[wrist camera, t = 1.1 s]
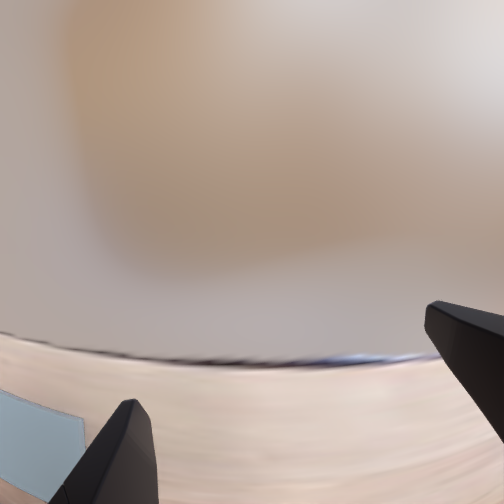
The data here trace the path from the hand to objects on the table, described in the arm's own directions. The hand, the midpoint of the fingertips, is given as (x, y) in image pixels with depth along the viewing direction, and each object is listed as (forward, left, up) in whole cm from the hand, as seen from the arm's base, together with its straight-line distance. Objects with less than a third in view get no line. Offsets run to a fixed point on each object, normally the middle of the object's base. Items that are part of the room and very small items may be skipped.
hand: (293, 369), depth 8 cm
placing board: (-6, +25, -15) cm, 29 cm away
